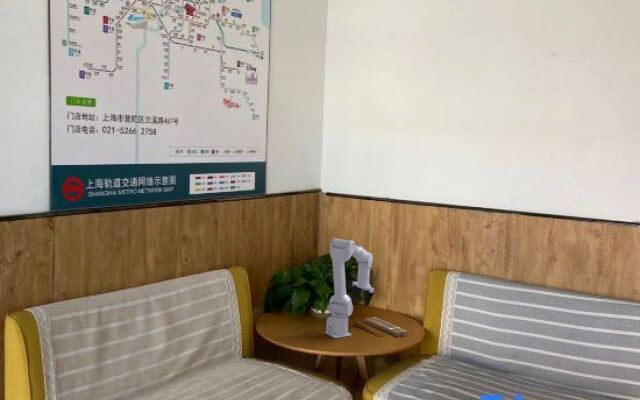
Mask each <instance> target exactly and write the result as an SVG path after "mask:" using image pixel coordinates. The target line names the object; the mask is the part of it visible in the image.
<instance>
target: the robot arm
mask: <svg viewBox="0 0 640 400" xmlns="http://www.w3.org/2000/svg"><path fill="white" fill-rule="evenodd" d="M329 252H330V253H329V254H330V258H331V259H332V262H331V263H332V271H333V273H332V274H333V285H334V286H333V287H334V288H333V289H334V295H332V296H331V297H330V299H329V305H328V310H329V312H330V314H331V316H329V317H327V319H326V329H325V332H324V334H326V335H328V336H330V337H331V338H334V339H339V338H345V337H351V336H352V333H350V332H348V330H349V329H348V328H349V317H350V316H351V315H352V314H353V311H354V305H353V303H352V298H351V297H350V296H349V295H348V294H347V287H346V286H347V283H346V270H345V263H346V262H349V260H350V259H351V257H353V258H354V259H356V262H357V265H358V269H357V281H352V287H351V291H352V293H353V297H354V301H355V303H357V302H358V303H359V302H360V300H361V296H362V295H361V294H363V299H364V300H363V303H364V307H368V306H369V305H370V303H371V300H372V298H373V296H374V295H375V288H374V287H372V285H371V284H370V274H371V267H372V264H373V260H374V257H373V254H372V253H371V252H369V251H367V250H366V249H365V248H363V246H362V245H358V246H357V245H356V242H355V241H354V240H348V239H342V238H336V237H334V238H333V239H332V240H331V242H330V245H329ZM363 290H364V291H363Z"/></svg>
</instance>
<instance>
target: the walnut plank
mask: <svg viewBox="0 0 640 400" xmlns="http://www.w3.org/2000/svg"><path fill="white" fill-rule="evenodd" d="M364 322H365V323H366V324H368V325H370V326H372V327H374V328H375V329H376V328H377V329H379V330H381V331H384V333H386V334H390V335H392V336H394V337H396V338H401V337H406V336H407V335H408V334H409V333H408V330H406V329H404V328H401V327H399V326H397V325H396V324H395V325H394V324H392V323H390V322H388V321H386V320H383V319H381V318H378V317H376V316H371V317H365V321H364ZM407 337H408V336H407Z"/></svg>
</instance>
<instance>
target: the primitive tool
mask: <svg viewBox="0 0 640 400" xmlns="http://www.w3.org/2000/svg"><path fill="white" fill-rule="evenodd" d="M352 323H353V324H352V325H353V326H355V327H358V328H360V329H362V330H365V331H366V332H368V333H370V334H372V335H373V336H375V337H377V338H383V337H387V336H388V334H387V333H386V332H382V331H380V330H378V329H376V328H375V327H374V328H373V326H372V327H371V325H370V326H369V325H367V324H365V323H364V322H362V321H359V319H358V318H356V319H354V321H353V322H352Z"/></svg>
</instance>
